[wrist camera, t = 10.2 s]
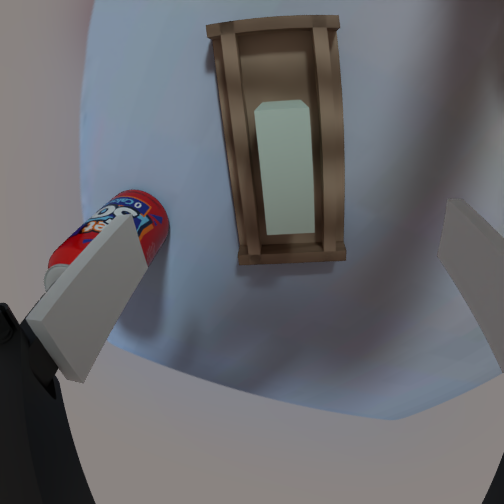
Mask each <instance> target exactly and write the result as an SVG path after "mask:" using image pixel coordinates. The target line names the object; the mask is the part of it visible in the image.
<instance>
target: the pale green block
mask: <svg viewBox="0 0 504 504" xmlns="http://www.w3.org/2000/svg"><path fill="white" fill-rule="evenodd" d="M254 115H255V124H256V133H257V142H258V151H259V161H260V170H261V180H262V190H263V199H264V209H265V219H266V230H267V235H278V234H298V233H315V218H314V184H313V161H312V143H311V127H310V112H309V107H308V106H307V105H306V104H305V103H304V102H303V101H301V100H287V101H272V102H262V103H261V104H260V105H259V106H258V107H257V108H256V109H255V111H254Z"/></svg>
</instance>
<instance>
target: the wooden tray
mask: <svg viewBox="0 0 504 504" xmlns="http://www.w3.org/2000/svg"><path fill="white" fill-rule="evenodd" d="M339 28H340V22H339V15H296V16H276V17H264V18H253V19H244V20H236V21H229V22H222V23H216V24H210V25H206V31H207V37H208V38H209V39H211V40H212V42H213V50H214V58H215V66H216V74H217V81H218V89H219V97H220V104H221V112H222V120H223V127H224V135H225V142H226V149H227V157H228V164H229V171H230V179H231V186H232V193H233V200H234V207H235V214H236V221H237V228H238V235H239V242H240V248H239V252H238V261H239V265H257V264H281V263H304V262H325V261H346V248H345V245H344V242H343V236H344V197H345V162H344V124H343V103H342V87H341V74H340V62H339V51H338V41H337V33H336V31H337V30H338V29H339ZM287 100H301V101H303V102H304V103H305V104H306V105H307V106H308V107H309V112H310V127H311V143H312V161H313V184H314V218H315V233H298V234H278V235H267V230H266V219H265V209H264V199H263V190H262V180H261V170H260V161H259V151H258V142H257V133H256V124H255V115H254V111H255V109H256V108H257V107H258V106H259V105H260V104H261V103H262V102H272V101H287Z"/></svg>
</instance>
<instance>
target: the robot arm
mask: <svg viewBox="0 0 504 504" xmlns="http://www.w3.org/2000/svg"><path fill="white" fill-rule="evenodd" d="M437 257H438V258H439V260H440V261H441V263H442V264H443V266H444V267H445V269H446V270H447V272H448V274H449V275H450V277H451V278H452V280H453V281H454V283H455V285H456V286H457V288H458V290H459V291H460V293H461V295H462V296H463V298H464V300H465V301H466V303H467V305H468V306H469V308H470V310H471V312H472V313H473V315H474V317H475V319H476V321H477V322H478V324H479V326H480V328H481V330H482V332H483V334H484V336H485V337H486V339H487V341H488V343H489V345H490V347H491V349H492V351H493V353H494V355H495V357H496V360H497V362H498V364H499V366H500V368H501V370H502V373H504V238H503V237H502V236H501V235H500V234H499V233H498V232H497V231H496V230H495V229H494V228H493V227H492V226H491V225H490V224H489V223H488V222H487V221H486V220H485V219H484V218H483V217H481V216H480V215H479V214H478V213H477V212H476V211H475V210H474V209H473V208H472V207H471V206H470V205H468V204H467V203H466V202H465V201H464V200H463V199H447V206H446V212H445V218H444V224H443V229H442V235H441V240H440V245H439V250H438V254H437ZM147 269H148V266H147V263H146V260H145V257H144V253H143V250H142V247H141V244H140V241H139V237H138V234H137V231H136V227H135V224H134V220H133V217H132V214H126V215H117V216H116V217H115V218H114V219H113V220H112V221H111V222H110V223H109V224H108V225H107V226H106V227H105V228H104V229H103V230H102V231H101V232H100V233H99V234H98V235H97V236H96V237H95V238H94V239H93V240H92V241H91V243H90V244H89V245H88V246H87V247H86V248H85V249H84V250H83V251H82V252H81V253H80V254H79V255H78V257H77V258H76V259H75V260H74V261H73V262H72V263H71V264H70V265H69V267H68V268H67V269H66V270H65V271H64V272H63V273H62V275H61V276H60V277H59V278H58V279H57V280H56V281H55V282H54V283H53V284H52V285H51V286H50V287H49V289H48V290H47V291H46V293H45V294H44V295H43V296H42V297H41V299H40V301H38V302H37V303H36V304H35V306H34V307H33V308H32V310H31V311H30V312H29V313H28V315H27V316H26V317H25V319H24V320H23V321H22V322H21V324H19V323H18V321H17V320H16V318H15V316H14V315H13V313H12V311H11V310H10V308H9V307H8V305H7V304H6V303H0V504H95V501H94V499H93V496H92V494H91V491H90V489H89V486H88V483H87V481H86V478H85V475H84V473H83V470H82V467H81V464H80V461H79V458H78V455H77V451H76V448H75V445H74V442H73V438H72V435H71V431H70V427H69V423H68V419H67V415H66V411H65V407H64V403H63V398H62V393H61V388H60V383H59V381H58V379H57V377H56V376H55V373H56V372H57V370H58V368H59V370H60V371H61V372H62V373H63V375H64V376H65V378H66V379H67V380H71V381H75V382H80V383H84V382H85V380H86V378H87V376H88V374H89V372H90V370H91V368H92V366H93V364H94V362H95V360H96V358H97V356H98V355H99V353H100V351H101V349H102V347H103V345H104V343H105V342H106V340H107V338H108V336H109V334H110V332H111V331H112V329H113V327H114V325H115V323H116V322H117V320H118V318H119V316H120V315H121V313H122V311H123V309H124V308H125V306H126V304H127V303H128V301H129V299H130V297H131V296H132V294H133V292H134V291H135V289H136V287H137V286H138V284H139V282H140V281H141V279H142V277H143V276H144V274H145V272H146V271H147ZM482 504H504V453H503V456H502V459H501V461H500V464H499V466H498V469H497V471H496V474H495V476H494V478H493V481H492V483H491V485H490V488H489V490H488V492H487V494H486V496H485V498H484V500H483V502H482Z"/></svg>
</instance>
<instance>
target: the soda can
mask: <svg viewBox="0 0 504 504" xmlns="http://www.w3.org/2000/svg"><path fill="white" fill-rule="evenodd" d="M126 214H132V217H133V220H134V224H135V227H136V231H137V234H138V237H139V241H140V244H141V247H142V250H143V253H144V257H145V260H146V263H147V266H148V267H149V265H150V264H151V262H152V261H153V259H154V257H155V256H156V254H157V253H158V251H159V250H160V248H161V246H162V245H163V243H164V242H165V240H166V238H167V235H168V231H169V220H168V216H167V214H166V211H165V209H164V208H163V206H162V205H161V203H160V202H159V201H158V200H157V199H156V198H154V197H153V196H152V195H150V194H148V193H146V192H144V191H141V190H126V191H123V192H121V193H119V194H118V195H116V196H115V197H114V198H112V199H111V200H110V201H109V202H108V203H107V204H105V205H104V206H103V207H102V208H101V209H100V210H98V211H97V212H96V213H95V214H94V215H93V216H92V217H90V218H89V219H88V220H87V221H86V222H85V223H84V224H83V225H82V226H81V227H79V228H78V229H77V230H76V231H75V232H74V233H73V234H72V235H71V236H70V237H69V238H68V239H67V240H66V241H65V242H63V244H61V245H60V246H59V247H58V249H56V250H55V251H54V253H53V255H52V256H51V257H50V260H49V264H48V270H47V272H46V274H45V277H44V285H45V290H46V291H47V290H48V289H49V287H50V286H51V285H52V284H53V283H54V282H55V281H56V280H57V279H58V278H59V277H60V276H61V275H62V273H63V272H64V271H65V270H66V269H67V268H68V267H69V265H70V264H71V263H72V262H73V261H74V260H75V259H76V258H77V257H78V255H79V254H80V253H81V252H82V251H83V250H84V249H85V248H86V247H87V246H88V245H89V244H90V243H91V241H92V240H93V239H94V238H95V237H96V236H97V235H98V234H99V233H100V232H101V231H102V230H103V229H104V228H105V227H106V226H107V225H108V224H109V223H110V222H111V221H112V220H113V219H114V218H115V217H116V216H117V215H126Z"/></svg>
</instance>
